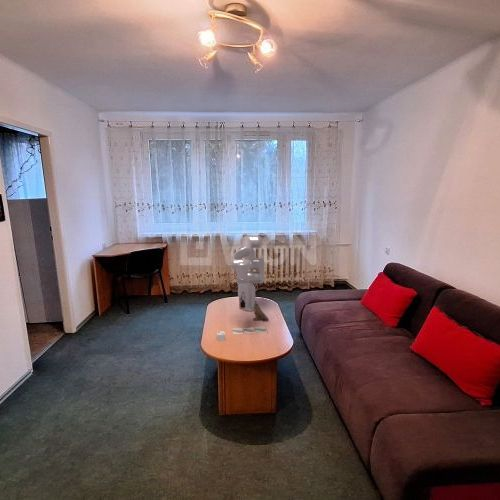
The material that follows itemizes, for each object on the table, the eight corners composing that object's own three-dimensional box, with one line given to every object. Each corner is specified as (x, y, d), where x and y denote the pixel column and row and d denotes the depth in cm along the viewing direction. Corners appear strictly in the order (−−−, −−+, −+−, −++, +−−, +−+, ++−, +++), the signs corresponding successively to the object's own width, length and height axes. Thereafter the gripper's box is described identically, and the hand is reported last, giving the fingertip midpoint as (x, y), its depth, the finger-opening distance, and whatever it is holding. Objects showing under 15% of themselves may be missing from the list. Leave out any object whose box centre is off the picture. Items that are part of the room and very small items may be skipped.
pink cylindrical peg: (238, 307, 222) (238, 291, 219) (245, 306, 222) (245, 291, 220) (239, 309, 217) (239, 293, 215) (245, 309, 218) (245, 293, 215)
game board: (230, 329, 227) (230, 328, 227) (265, 326, 231) (265, 325, 231) (231, 336, 217) (231, 335, 216) (268, 333, 220) (268, 332, 220)
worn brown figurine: (253, 325, 239) (248, 303, 235) (253, 322, 244) (248, 300, 240) (269, 321, 240) (264, 299, 235) (268, 318, 245) (263, 297, 241)
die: (217, 338, 213) (216, 331, 212) (224, 338, 214) (224, 331, 213) (217, 342, 209) (217, 335, 208) (225, 341, 209) (224, 334, 208)
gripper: (235, 276, 223) (236, 301, 227) (237, 284, 207) (237, 311, 211) (246, 276, 224) (246, 301, 228) (249, 283, 208) (249, 310, 212)
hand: (242, 305), depth 219 cm, fingers closed on pink cylindrical peg, 4 cm apart
